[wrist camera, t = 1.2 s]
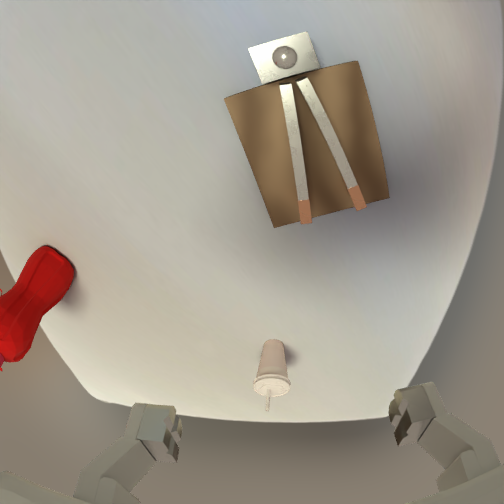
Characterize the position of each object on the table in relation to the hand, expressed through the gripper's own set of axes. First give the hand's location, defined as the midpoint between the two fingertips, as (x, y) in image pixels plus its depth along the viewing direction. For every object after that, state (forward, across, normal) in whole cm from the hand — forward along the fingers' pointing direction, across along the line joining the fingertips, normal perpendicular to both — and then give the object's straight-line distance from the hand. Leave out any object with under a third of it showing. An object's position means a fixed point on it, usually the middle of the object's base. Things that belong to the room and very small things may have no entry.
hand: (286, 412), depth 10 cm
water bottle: (+38, +41, +13) cm, 57 cm away
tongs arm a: (+30, -8, -5) cm, 32 cm away
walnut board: (+32, -6, -4) cm, 33 cm away
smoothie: (+37, 0, +33) cm, 50 cm away
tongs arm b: (+31, -4, -4) cm, 31 cm away
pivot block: (+31, -3, -15) cm, 35 cm away
